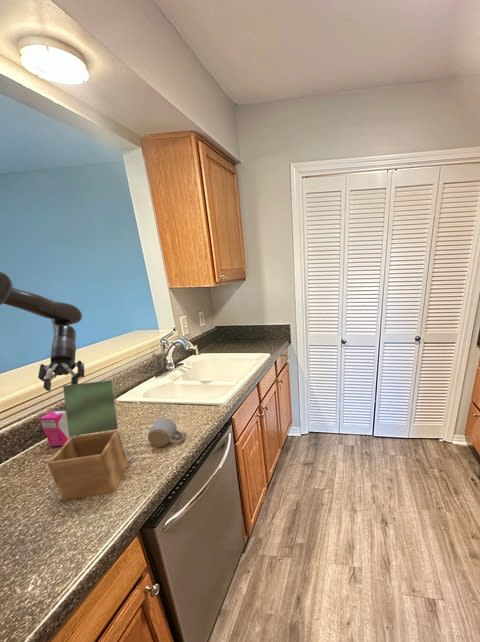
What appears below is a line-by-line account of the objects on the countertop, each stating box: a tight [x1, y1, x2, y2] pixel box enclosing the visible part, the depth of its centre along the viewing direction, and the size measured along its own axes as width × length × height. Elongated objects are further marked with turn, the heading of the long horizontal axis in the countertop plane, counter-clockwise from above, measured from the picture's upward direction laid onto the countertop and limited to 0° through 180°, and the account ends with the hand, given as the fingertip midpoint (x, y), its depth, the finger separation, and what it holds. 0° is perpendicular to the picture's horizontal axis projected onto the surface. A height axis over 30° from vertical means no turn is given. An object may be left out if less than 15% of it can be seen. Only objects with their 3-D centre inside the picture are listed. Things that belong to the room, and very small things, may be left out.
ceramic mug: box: [147, 417, 185, 448], centre depth 111 cm, size 11×8×8 cm
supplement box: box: [38, 410, 77, 448], centre depth 113 cm, size 6×6×12 cm
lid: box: [62, 379, 119, 436], centre depth 93 cm, size 14×13×1 cm
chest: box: [47, 430, 129, 501], centre depth 89 cm, size 14×13×13 cm
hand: (60, 388), depth 118 cm, fingers open, 8 cm apart
